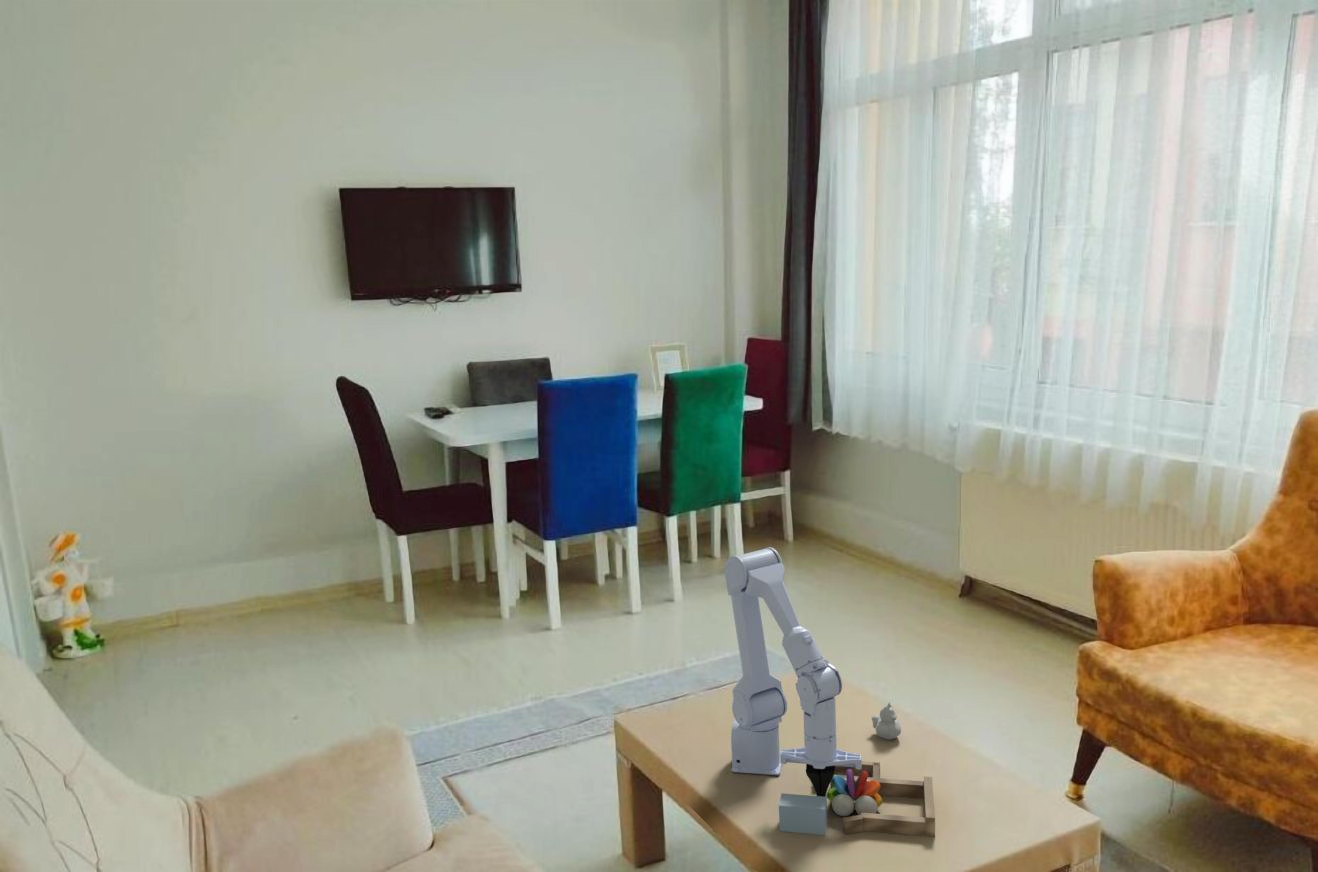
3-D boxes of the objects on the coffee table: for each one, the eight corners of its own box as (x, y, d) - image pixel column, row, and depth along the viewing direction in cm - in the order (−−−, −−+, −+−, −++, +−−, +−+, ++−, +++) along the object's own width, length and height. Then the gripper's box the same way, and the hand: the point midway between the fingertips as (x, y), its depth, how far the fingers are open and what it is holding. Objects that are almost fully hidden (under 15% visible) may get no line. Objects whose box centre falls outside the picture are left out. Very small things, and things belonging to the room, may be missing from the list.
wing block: (779, 831, 170) (778, 805, 169) (782, 818, 174) (781, 793, 173) (825, 835, 168) (824, 809, 167) (827, 822, 172) (826, 797, 171)
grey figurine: (892, 746, 197) (892, 710, 196) (865, 736, 202) (864, 700, 200) (906, 736, 201) (906, 700, 199) (879, 726, 205) (879, 691, 204)
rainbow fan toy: (882, 823, 171) (882, 785, 170) (827, 819, 173) (826, 781, 172) (881, 796, 179) (881, 760, 178) (828, 793, 181) (828, 757, 180)
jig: (808, 831, 169) (807, 813, 169) (817, 767, 190) (817, 751, 190) (935, 842, 164) (935, 823, 164) (930, 775, 185) (930, 758, 185)
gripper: (777, 739, 172) (779, 809, 175) (860, 745, 169) (861, 816, 171) (781, 721, 179) (784, 788, 182) (861, 726, 176) (862, 794, 178)
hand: (821, 800), depth 177 cm, fingers closed
